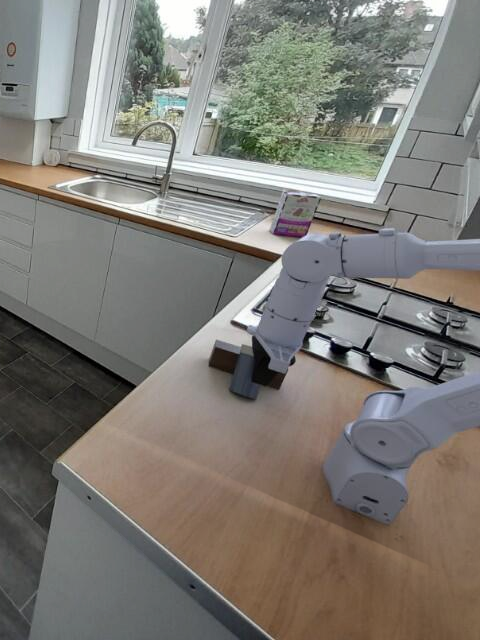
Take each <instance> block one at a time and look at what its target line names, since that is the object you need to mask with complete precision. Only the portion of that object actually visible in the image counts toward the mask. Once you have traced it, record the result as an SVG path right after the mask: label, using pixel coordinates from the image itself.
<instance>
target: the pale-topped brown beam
mask: <svg viewBox="0 0 480 640" xmlns="http://www.w3.org/2000/svg"><path fill="white" fill-rule="evenodd" d="M240 349H241V346H238V345H236V344H232V343H229V342H226V341H223V340H220V339H215V341H214V344H213V346H212V350H211V352H210V355H209V357H208V364H207V365H208V367H209V368H212V369H215V370H218V371H220V372H225V373H228V374H230V375H233V373H234V370H235V366H236V363H237V359H238V356H239V353H240ZM288 372H289V368H288V369H287V371H286V374H284V373H281V372H280V373H279V374H277V375H276V377H275V378H274V379H273V380H272V381H271V382H270V383H269V384H268V385H267V386H266V387H269V388H272V389H275V390H278V391H280V389H281V387H282V384H283V383H284V380H285V378H286V376H287V375H288Z"/></svg>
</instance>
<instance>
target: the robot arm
mask: <svg viewBox="0 0 480 640" xmlns="http://www.w3.org/2000/svg"><path fill="white" fill-rule="evenodd" d="M280 262H281V266H282V268H281V270H280V272H279V276H278V277H277V278H276V280H275V283H274V285H273V287H272V290H271V292H270V295H269V297H268V300H267V301H266V302H267V305H266V307H265V310H263V312H262V315H261V317H260V320H259V322H258V325H252V324H248V325H247V328H246V333H247V334H248V335H249V336H250V335H251V346H252V350H253V355H254V357H253V364H252V370H251V382H253V383H256V384H259V385H261V386H263V387H268V386H267V385H268V384H269V383H270V382H271V381H272V380H273V379H274V378H275V377H276V375H277V374H279V373H280V372H281V373H284V374H286V371H287V369H288V370H289V367H290V368H291V367H292V366H294V365H295V364H296V362H297V358H296V355H297V354H298V353H299V351H301V349H302V347H303V343H304V342H303V341H304V338H305V336H306V334H307V332H308V330H309V327H310V326H311V324H312V321H313V320H314V319H313V317H314V315H315V312H316V310H317V308H318V306H319V304H320V302H321V300H323V297H324V295H325V292H326V290H325V289H326V286H327V284H328V282H329V280H330V278H331V276H333V277H334V276H335V277H338V278H342V279H343V278H346V279H347V278H350V279H353V278H354V279H395V280H396V279H398V280H399V279H402V280H403V279H404V280H408V279H411V278H413V277H415V276H416V275H418V274H419V273H420V272H422V271H425V270H447V271H450V270H451V271H477V272H480V238H471V239H453V240H434V241H426V240H423V239H421V238H419V237H417V236H415V235H414V234H412V233H411V232H407V231H406V232H396V229H395V227H387V228H381V229H379V231H378V233H365V234H363V233H361V234H342V232H341V231H334V232H333V231H332V232H330V233H329V235H327V234H323V233H311V234H307V235H306V236H304V237H299V239H297V240H296V241H294V242H293V243H291V244H290V245H288V246H287V247H286V248H285V250H284V251H283V253H282V255H281V261H280ZM314 318H315V317H314ZM312 319H313V320H312ZM286 375H287V374H286ZM479 427H480V370H478V371H475V372H472V373H468V374H466V375H462V376H460V377H457V378H454V379H452V380H448V381H445V382H442V383H439V384H435V385H434V386H431V387H427V388H425V387H416V386H411V387H408V388H405V389H402V390H401V389H400V390H387V389H386V390H377V391H374V392H371V393H369V394H368V395H367V396H366V397H365V399H364V401H363V406H362V408H361V410H360V413H359V414H358V416H357V419H356V420H355V421H351V422H348V423H346V425H345V426H344V428H343V430H342V431H341V433H340V435H339V436H338V438H337V440H336V442H335V443H334V445H333V447H332V449H331V450H330V452H329V454H328V455H327V457H326V459H325V461H324V462H323V464H322V466H321V472H322V476H323V477H324V478H325V480H326V482H327V483H328V486H329V488H330V489H329V490H330V493H331V498H332V502H333V503H334V504H336V505H339V506H342V508H346V509H348V510H351V511H353V512H355V513H358V514H360V515H363V516H365V517H367V518H370V519H372V520H374V521H376V522H379V523H381V524H383V525H386V526H391V524H392V523H393V522H394V520H395V519H396V517H397V516H398V515H399V514H400V512H401V511H402V509H403V508H404V507H405V505H406V504H407V503H408V501H409V498H410V496H409V490H408V486H407V476H408V472H409V470H410V469H411V468H412V466H413V464H415V461H417V459H418V458H419V456H420V455H422V454H424V453H426V452H428V451H429V452H430V451H432V450H436V449H438V448H439V447H441V446H442V445H443V444H445V443H446V442H447V441H449V440H450V439H451V438H452V437H454V436H455V435H456V434H458V433H460V432H464V431H467V430H471V429H475V428H479Z"/></svg>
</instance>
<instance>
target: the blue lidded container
mask: <svg viewBox="0 0 480 640" xmlns="http://www.w3.org/2000/svg"><path fill="white" fill-rule="evenodd" d="M240 347H241V349H240V353H239V356H238V359H237V363H236V366H235V370H234V373H233V374H232V378H231V382H230V384H229V387H228V391H230V392H232V393H236V394H238V395H241V396H243V397H246V398H249V399H253V400H258V396H259V393H260V389H261V386H262V385H259V384H256V383H253V382H251V370H252V364H253V357H254V355H253V350H252V345H248V344H243V343H242V344H241V346H240Z"/></svg>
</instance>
